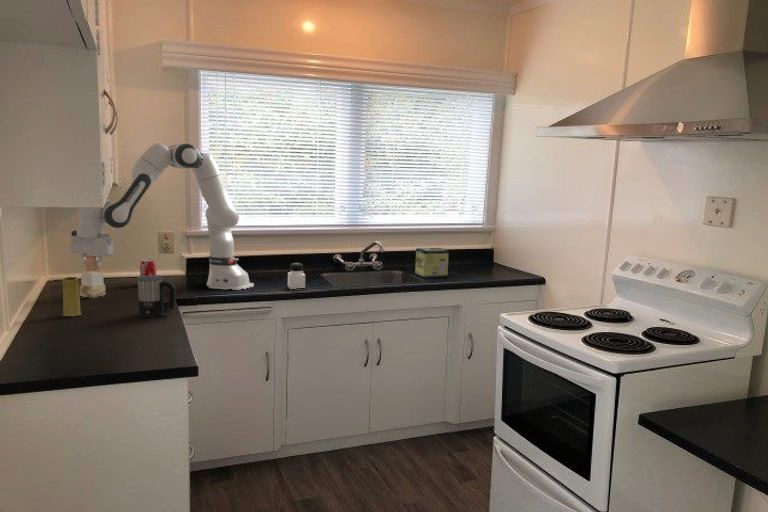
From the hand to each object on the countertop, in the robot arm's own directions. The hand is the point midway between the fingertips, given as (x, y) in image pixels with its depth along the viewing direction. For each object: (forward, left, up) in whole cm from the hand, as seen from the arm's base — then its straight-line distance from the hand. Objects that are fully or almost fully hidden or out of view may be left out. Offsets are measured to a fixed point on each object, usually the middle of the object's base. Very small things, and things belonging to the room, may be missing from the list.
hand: (92, 264), depth 252 cm
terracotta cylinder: (0, 0, -2) cm, 2 cm away
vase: (-18, +28, -14) cm, 36 cm away
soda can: (-4, -29, -14) cm, 32 cm away
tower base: (0, 0, -14) cm, 14 cm away
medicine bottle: (-67, -58, -14) cm, 90 cm away
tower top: (0, 0, -9) cm, 9 cm away
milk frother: (-41, +10, -14) cm, 45 cm away
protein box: (-117, -122, -14) cm, 170 cm away
